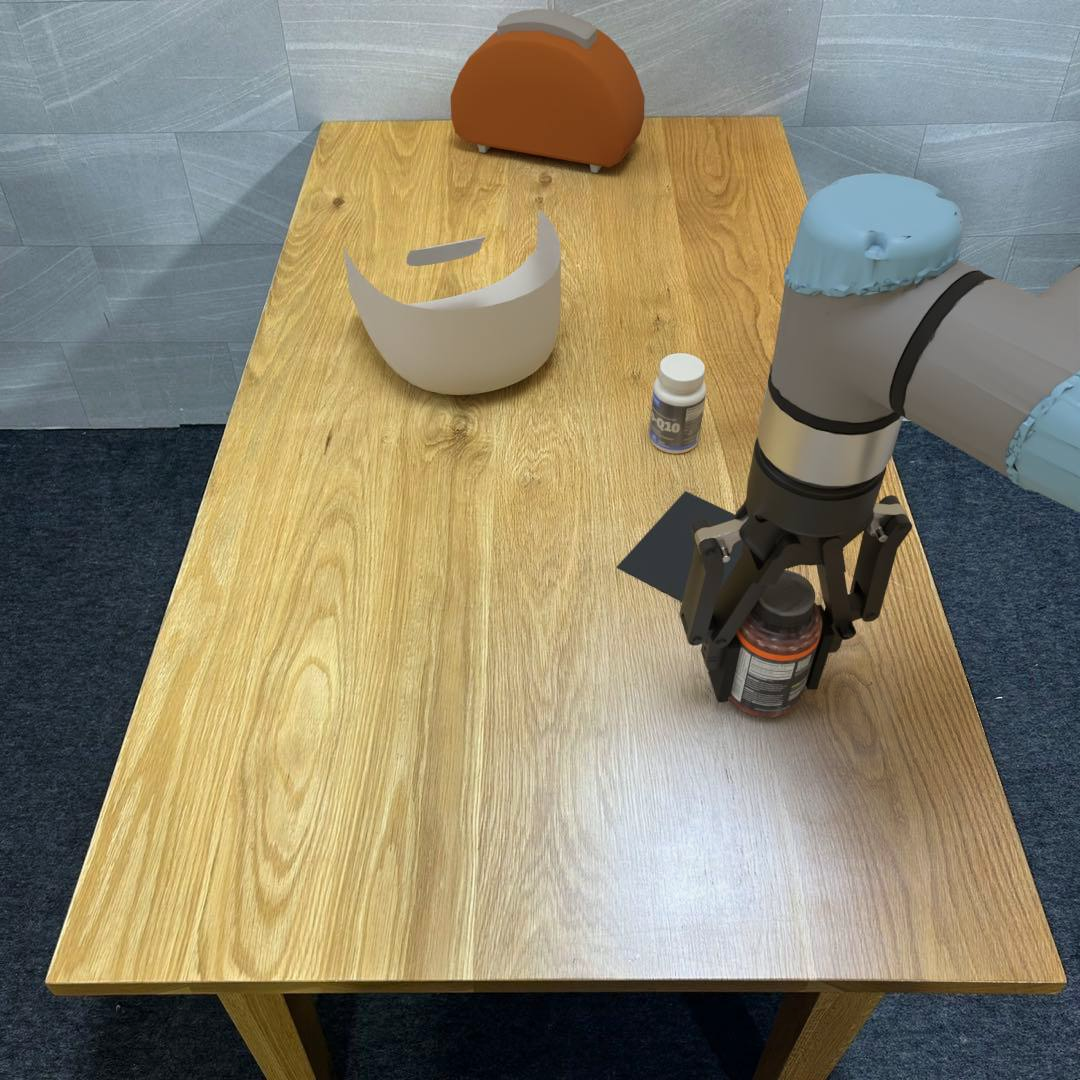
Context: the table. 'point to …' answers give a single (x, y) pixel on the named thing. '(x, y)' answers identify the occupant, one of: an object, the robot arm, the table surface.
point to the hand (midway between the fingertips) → (762, 680)
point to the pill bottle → (678, 403)
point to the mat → (676, 546)
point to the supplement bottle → (777, 648)
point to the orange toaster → (549, 91)
